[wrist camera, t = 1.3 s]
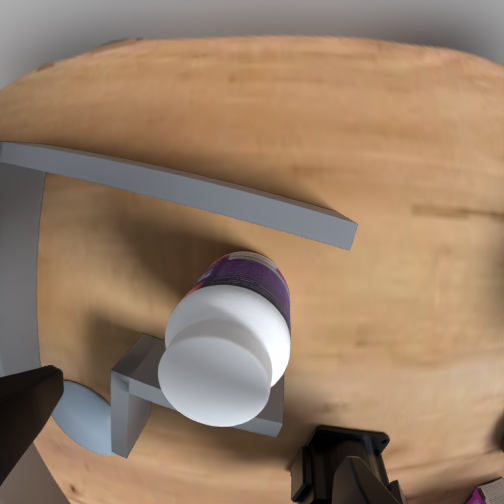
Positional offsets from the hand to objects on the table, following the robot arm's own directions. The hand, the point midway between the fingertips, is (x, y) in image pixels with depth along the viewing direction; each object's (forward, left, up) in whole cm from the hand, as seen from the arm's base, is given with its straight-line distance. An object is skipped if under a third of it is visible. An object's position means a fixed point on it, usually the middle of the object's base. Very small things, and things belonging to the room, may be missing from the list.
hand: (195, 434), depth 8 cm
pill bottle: (0, 0, -12) cm, 12 cm away
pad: (+11, +17, -12) cm, 23 cm away
